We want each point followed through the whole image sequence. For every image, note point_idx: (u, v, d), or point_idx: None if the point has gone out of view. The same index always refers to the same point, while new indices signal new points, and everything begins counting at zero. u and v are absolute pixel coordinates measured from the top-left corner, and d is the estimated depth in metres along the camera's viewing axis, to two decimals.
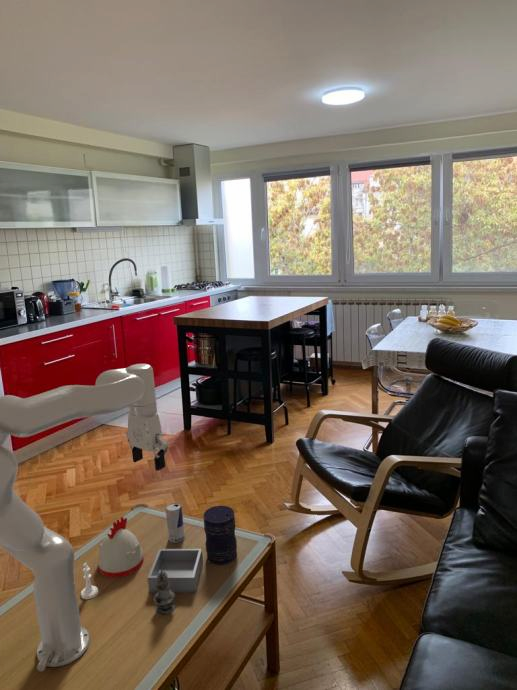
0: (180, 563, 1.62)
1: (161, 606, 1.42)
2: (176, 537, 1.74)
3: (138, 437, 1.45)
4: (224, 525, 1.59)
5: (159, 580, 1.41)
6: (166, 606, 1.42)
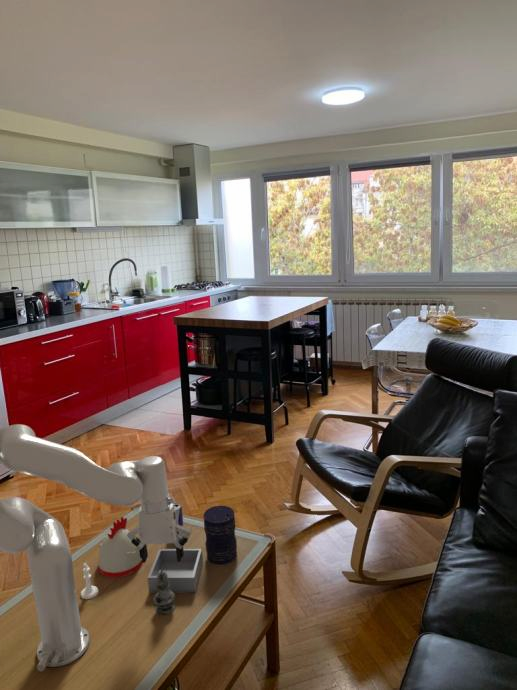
0: (180, 563, 1.62)
1: (161, 606, 1.42)
2: None
3: None
4: (224, 525, 1.59)
5: (159, 580, 1.41)
6: (166, 606, 1.42)
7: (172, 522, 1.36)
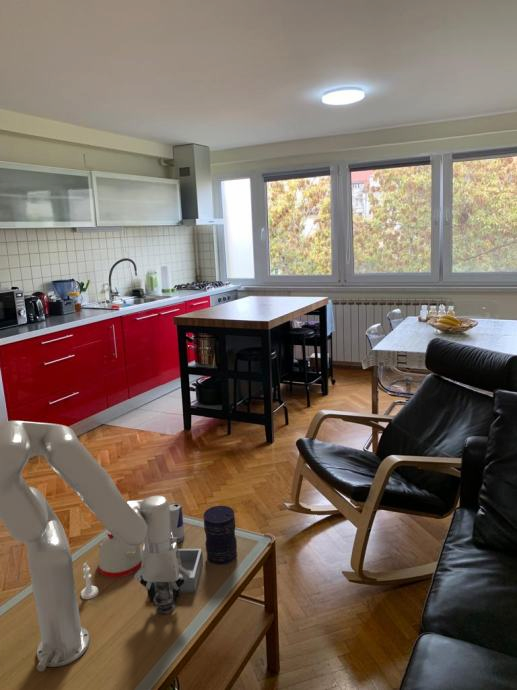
0: None
1: (161, 606, 1.42)
2: None
3: None
4: (224, 525, 1.59)
5: None
6: (166, 606, 1.42)
7: (175, 561, 1.39)
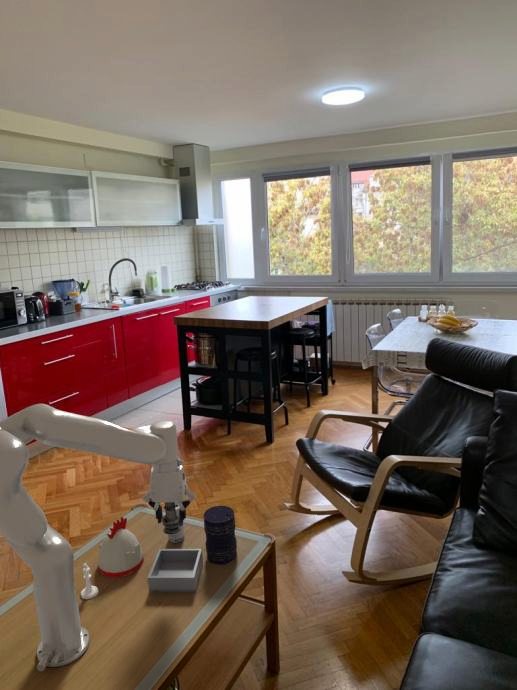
0: (180, 563, 1.62)
1: (168, 526, 1.50)
2: (176, 537, 1.74)
3: None
4: (224, 525, 1.59)
5: None
6: (173, 526, 1.51)
7: (181, 482, 1.48)
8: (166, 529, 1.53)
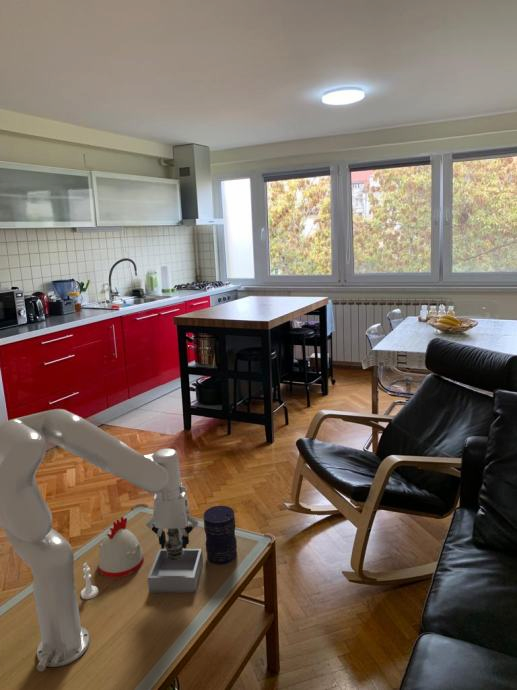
0: (180, 563, 1.62)
1: (171, 551, 1.53)
2: None
3: None
4: (224, 525, 1.59)
5: None
6: (176, 551, 1.53)
7: (184, 509, 1.50)
8: (169, 554, 1.55)
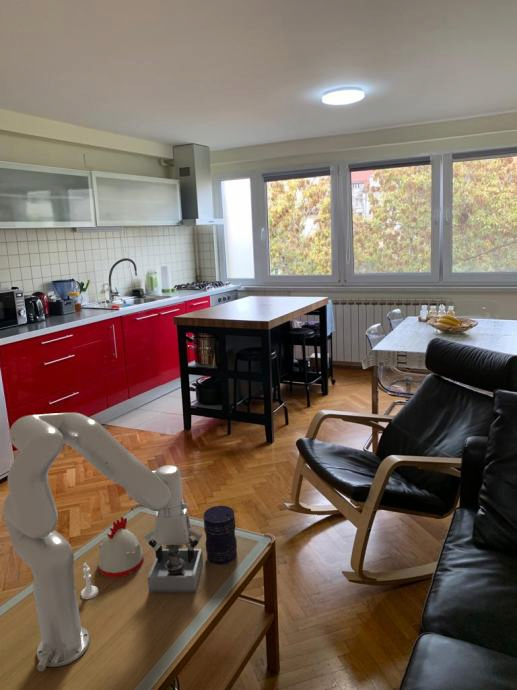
0: None
1: (172, 571, 1.54)
2: None
3: None
4: (224, 525, 1.59)
5: (170, 547, 1.54)
6: (177, 571, 1.54)
7: (185, 525, 1.51)
8: (170, 574, 1.56)
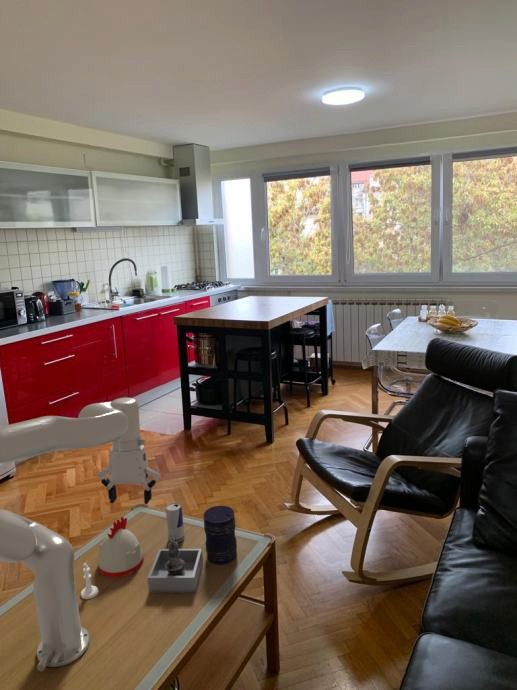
0: None
1: (172, 572, 1.54)
2: (176, 537, 1.74)
3: None
4: (224, 525, 1.59)
5: (170, 548, 1.53)
6: (177, 572, 1.54)
7: (141, 463, 1.40)
8: (170, 575, 1.56)
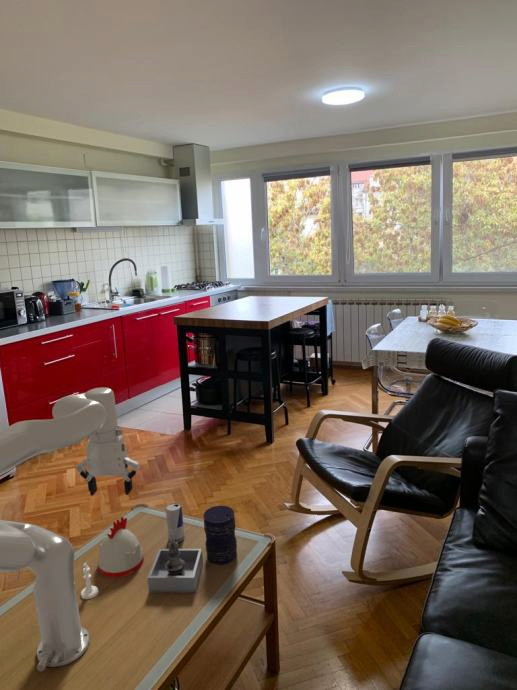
0: None
1: (172, 572, 1.54)
2: (176, 537, 1.74)
3: None
4: (224, 525, 1.59)
5: (170, 548, 1.53)
6: (177, 572, 1.54)
7: (120, 453, 1.37)
8: (170, 575, 1.56)
